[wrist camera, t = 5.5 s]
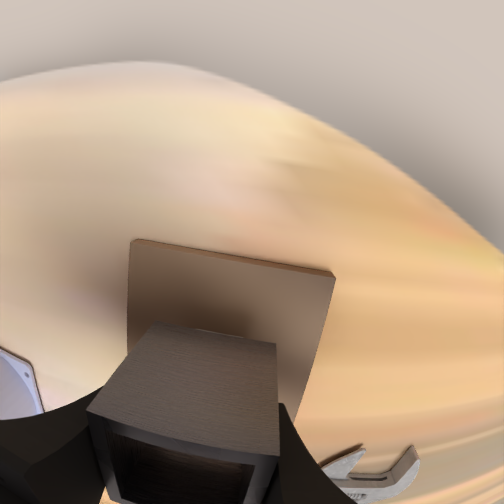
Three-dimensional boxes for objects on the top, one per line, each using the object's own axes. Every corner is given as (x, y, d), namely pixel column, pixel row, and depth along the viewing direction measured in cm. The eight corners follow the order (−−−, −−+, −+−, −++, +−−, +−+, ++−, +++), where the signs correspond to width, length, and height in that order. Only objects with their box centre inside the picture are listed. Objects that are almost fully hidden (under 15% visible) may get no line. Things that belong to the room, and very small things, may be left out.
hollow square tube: (255, 428, 13) (247, 531, 7) (154, 408, 13) (110, 499, 7) (276, 343, 12) (279, 455, 6) (155, 320, 12) (85, 410, 6)
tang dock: (289, 421, 17) (292, 461, 14) (135, 391, 18) (114, 425, 14) (331, 272, 15) (348, 296, 12) (138, 239, 15) (106, 253, 12)
